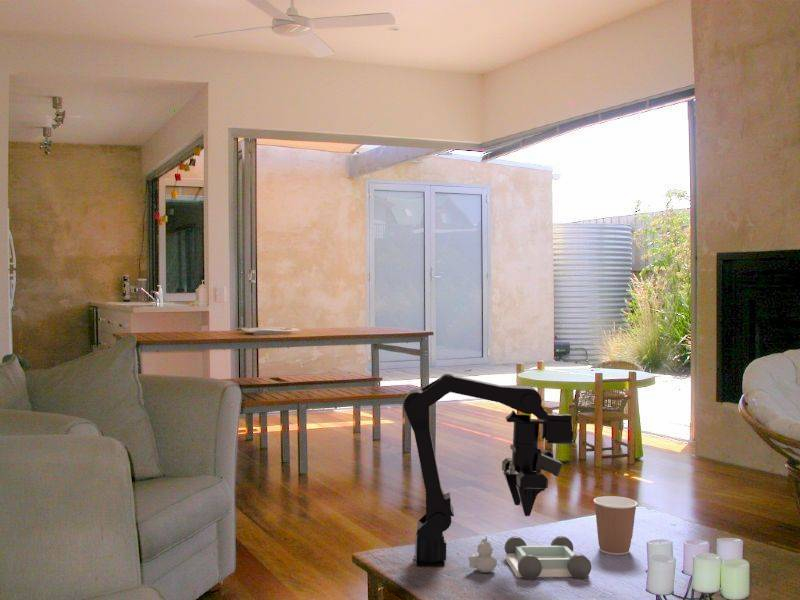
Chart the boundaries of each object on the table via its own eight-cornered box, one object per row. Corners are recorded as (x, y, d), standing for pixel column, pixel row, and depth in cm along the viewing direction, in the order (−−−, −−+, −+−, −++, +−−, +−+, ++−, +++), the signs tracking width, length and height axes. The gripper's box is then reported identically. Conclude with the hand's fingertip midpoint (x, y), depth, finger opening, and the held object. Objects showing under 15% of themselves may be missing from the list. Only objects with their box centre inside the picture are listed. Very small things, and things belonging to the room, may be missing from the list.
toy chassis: (518, 579, 184) (519, 556, 184) (504, 557, 199) (504, 536, 199) (591, 578, 186) (591, 555, 186) (571, 556, 201) (571, 535, 201)
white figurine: (500, 574, 188) (501, 538, 187) (472, 577, 186) (473, 540, 186) (491, 566, 193) (492, 531, 193) (464, 569, 191) (464, 533, 191)
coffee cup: (645, 554, 203) (646, 504, 203) (609, 559, 200) (610, 508, 199) (619, 542, 213) (620, 494, 213) (584, 546, 209) (585, 497, 209)
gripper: (572, 451, 185) (568, 522, 186) (548, 435, 204) (545, 500, 204) (522, 449, 184) (518, 521, 185) (502, 434, 203) (499, 499, 203)
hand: (522, 510), depth 194 cm, fingers open, 9 cm apart
